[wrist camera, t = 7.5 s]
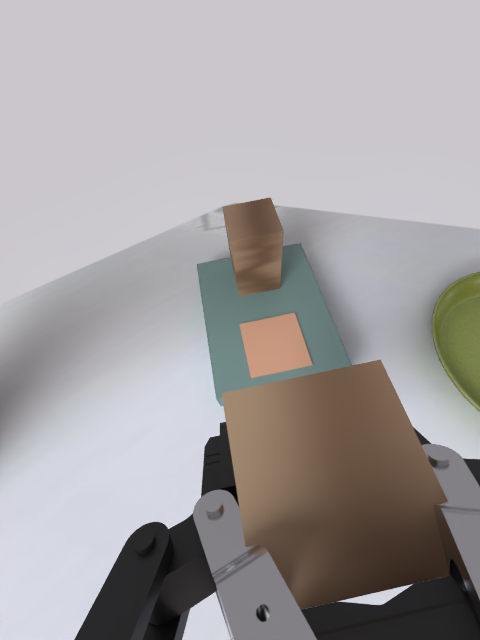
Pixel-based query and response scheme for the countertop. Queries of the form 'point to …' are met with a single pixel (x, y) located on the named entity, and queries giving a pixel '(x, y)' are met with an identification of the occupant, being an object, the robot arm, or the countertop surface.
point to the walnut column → (254, 245)
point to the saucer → (460, 335)
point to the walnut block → (335, 484)
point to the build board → (267, 326)
